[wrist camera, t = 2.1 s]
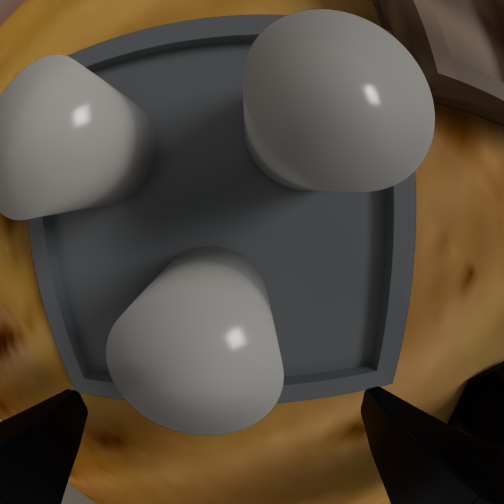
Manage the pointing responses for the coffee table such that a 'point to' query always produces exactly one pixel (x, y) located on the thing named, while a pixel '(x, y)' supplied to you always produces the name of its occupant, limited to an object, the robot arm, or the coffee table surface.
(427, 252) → the coffee table surface
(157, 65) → the slate tray
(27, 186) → the stone
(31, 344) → the coffee table surface
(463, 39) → the walnut box
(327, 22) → the stone
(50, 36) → the coffee table surface
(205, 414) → the stone
